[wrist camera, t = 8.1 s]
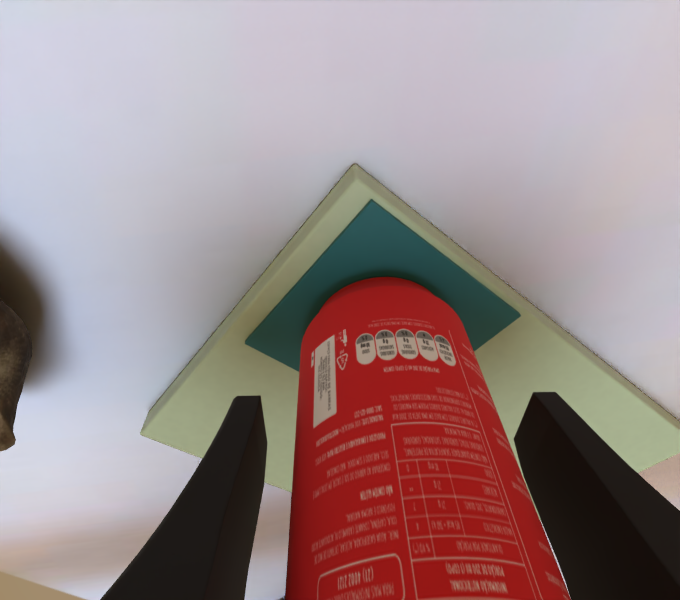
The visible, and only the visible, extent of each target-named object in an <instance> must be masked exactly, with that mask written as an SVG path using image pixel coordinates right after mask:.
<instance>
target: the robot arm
mask: <svg viewBox="0 0 680 600" xmlns="http://www.w3.org/2000/svg"><path fill="white" fill-rule="evenodd" d="M514 443H515V447H516V451H517V455H518V459H519V462H520V466H521V469H522V473H523V476H524V479H525V481H526V484H527V487H528V489H529V492H530V494H531V497H532V499H533V501H534V504H535V506H536V509H537V511H538V514H539V516H540V519H541V521H542V523H543V526H544V528H545V531H546V533H547V536H548V538H549V541H550V543H551V545H552V548H553V550H554V553H555V555H556V558H557V560H558V562H559V565H560V568H561V571H562V573H563V576H564V579H565V581H566V584H567V588H568V591H569V594H570V597H571V600H680V511H679V510H678V509H677V508H676V507H675V506H673V505H672V504H671V503H670V502H669V501H668V500H667V499H666V498H664V497H663V496H662V495H661V494H660V493H659V492H658V491H657V490H655V489H654V488H653V487H652V486H651V485H650V484H649V483H648V482H646V481H645V480H644V479H643V478H642V477H641V476H640V475H639V474H638V473H637V472H636V471H635V470H634V469H633V468H631V467H630V466H629V465H628V464H627V463H626V462H625V461H624V460H623V459H622V458H621V457H620V456H619V455H618V454H617V453H616V452H615V451H614V450H613V449H612V448H611V447H610V446H609V445H608V444H607V443H606V442H605V441H604V440H603V439H602V438H601V437H600V436H599V435H598V434H597V433H596V432H595V431H594V430H593V429H592V428H591V427H590V426H589V425H588V424H587V423H586V422H585V421H584V420H583V419H582V418H581V417H580V416H579V415H578V414H577V413H576V412H575V411H574V410H573V409H572V408H571V407H570V406H569V405H568V404H567V403H566V402H565V401H564V400H563V399H562V398H561V397H560V396H559V395H558V394H557V393H556V392H533V393H532V396H531V398H530V401H529V403H528V405H527V408H526V410H525V413H524V415H523V418H522V420H521V422H520V425H519V427H518V430H517V432H516V434H515V437H514ZM266 456H267V436H266V429H265V422H264V415H263V408H262V401H261V395H258V396H236V397H235V398H234V399H233V401H232V403H231V406H230V408H229V410H228V412H227V414H226V416H225V418H224V420H223V422H222V424H221V426H220V428H219V430H218V432H217V434H216V436H215V438H214V439H213V441H212V443H211V445H210V447H209V448H208V450H207V452H206V454H205V455H204V457H203V459H202V460H201V462H200V464H199V466H198V467H197V469H196V471H195V472H194V474H193V476H192V477H191V479H190V480H189V482H188V483H187V485H186V486H185V488H184V490H183V491H182V493H181V494H180V496H179V497H178V499H177V500H176V502H175V503H174V505H173V506H172V508H171V509H170V511H169V512H168V514H167V515H166V516H165V518H164V519H163V521H162V522H161V524H160V525H159V526H158V528H157V529H156V530H155V532H154V533H153V534H152V536H151V537H150V538H149V540H148V541H147V542H146V544H145V545H144V546H143V548H142V549H141V550H140V552H139V553H138V554H137V556H136V557H135V558H134V559H133V560H132V562H131V563H130V564H129V565H128V567H127V568H126V569H125V570H124V572H123V573H122V574H121V575H120V577H119V578H118V579H117V580H116V582H115V583H114V584H113V585H112V586H111V588H110V589H109V590H108V591H107V592H106V594H105V595H104V596H103V597H102V598H101V599H100V600H244V597H245V588H246V582H247V575H248V568H249V563H250V558H251V552H252V547H253V541H254V536H255V531H256V525H257V520H258V514H259V509H260V503H261V498H262V492H263V487H264V480H265V469H266Z"/></svg>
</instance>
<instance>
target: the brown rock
mask: <svg viewBox="0 0 680 600" xmlns="http://www.w3.org/2000/svg"><path fill="white" fill-rule="evenodd" d="M31 357H32V343H31V338H30V336H29V333H28V330H27V328H26V326H25V324H24V322H23V320H22V319H21V318H20V317H19V316H18V315H17V314H16V313H15V312H14V310H13V309H11V308H10V307H9V306H7V305H6V304H5V303H3V302H2V301H1V300H0V451H3V450H7V449H8V448H10V447H11V446H13V445H14V444H15V441H16V439H15V436H14V433H13V424H14V420H15V416H16V409H17V404H18V401H19V398H20V395H21V393H22V389H23V384H24V380H25V377H26V373H27V368H28V366H29V361H30V359H31Z"/></svg>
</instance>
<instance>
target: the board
mask: <svg viewBox="0 0 680 600" xmlns="http://www.w3.org/2000/svg"><path fill="white" fill-rule="evenodd" d="M373 276H397V277H403V278H406V279H410V280H413V281H415V282H417V283H419V284H421V285H423V286H425V287H426V288H427V289H429V290H430V291H431V292H432V293H433V294H434V295H435V296H436V297H438V298H440V299H441V300H443V301H444V302H445V303H447V304H448V305H449V306H450V307H451V308H452V309H453V310H454V311H455V312H456V313H457V315H458V316H459V318H460V320H461V321H462V323H463V326H464V328H465V331H466V333H467V336H468V338H469V341H470V343H471V346H472V348H473V351H474V354H475V356H476V359H477V361H478V364H479V366H480V369H481V371H482V374H483V377H484V379H485V382H486V384H487V387H488V389H489V392H490V394H491V397H492V400H493V402H494V405H495V407H496V410H497V412H498V415H499V417H500V420H501V422H502V425H503V428H504V430H505V433H506V435H507V438H508V440H509V443H510V445H511V448H512V451H513V453H514V456H515V458H516V461H517V463H518V466H519V468H520V471H521V474H522V476H523V473H522V469H521V466H520V462H519V459H518V455H517V451H516V447H515V443H514V437H515V434H516V432H517V430H518V427H519V425H520V422H521V420H522V418H523V415H524V413H525V410H526V408H527V405H528V403H529V401H530V398H531V396H532V393H533V392H556V393H557V394H558V395H559V396H560V397H561V398H562V399H563V400H564V401H565V402H566V403H567V404H568V405H569V406H570V407H571V408H572V409H573V410H574V411H575V412H576V413H577V414H578V415H579V416H580V417H581V418H582V419H583V420H584V421H585V422H586V423H587V424H588V425H589V426H590V427H591V428H592V429H593V430H594V431H595V432H596V433H597V434H598V435H599V436H600V437H601V438H602V439H603V440H604V441H605V442H606V443H607V444H608V445H609V446H610V447H611V448H612V449H613V450H614V451H615V452H616V453H617V454H618V455H619V456H620V457H621V458H622V459H623V460H624V461H625V462H626V463H627V464H628V465H629V466H630V467H631V468H633V469H634V470H635V471H636V472H637V473H639V472H641V471H643V470H645V469H647V468H649V467H651V466H653V465H655V464H658V463H660V462H662V461H664V460H666V459H668V458H670V457H672V456H674V455H676V454H678V453H680V422H679V421H678V420H677V419H675V418H674V417H673V416H671V415H670V414H669V413H668V412H666V411H665V410H664V409H663V408H661V407H660V406H659V405H658V404H656V403H655V402H654V401H653V400H651V399H650V398H649V397H648V396H646V395H645V394H644V393H643V392H641V391H640V390H639V389H638V388H636V387H635V386H634V385H633V384H631V383H630V382H629V381H628V380H626V379H625V378H624V377H623V376H621V375H620V374H619V373H617V372H616V371H615V370H614V369H612V368H611V367H610V366H609V365H607V364H606V363H605V362H604V361H602V360H601V359H600V358H599V357H597V356H596V355H595V354H594V353H592V352H591V351H590V350H589V349H587V348H586V347H585V346H584V345H582V344H581V343H580V342H579V341H577V340H576V339H575V338H574V337H572V336H571V335H570V334H569V333H567V332H566V331H565V330H563V329H562V328H561V327H560V326H558V325H557V324H556V323H555V322H553V321H552V320H551V319H550V318H548V317H547V316H546V315H545V314H543V313H542V312H541V311H540V310H538V309H537V308H536V307H535V306H533V305H532V304H531V303H530V302H528V301H527V300H526V299H525V298H523V297H522V296H521V295H520V294H518V293H517V292H516V291H514V290H513V289H512V288H511V287H509V286H508V285H507V284H506V283H504V282H503V281H502V280H501V279H499V278H498V277H497V276H496V275H494V274H493V273H492V272H491V271H489V270H488V269H487V268H486V267H484V266H483V265H482V264H481V263H479V262H478V261H477V260H476V259H474V258H473V257H472V256H471V255H469V254H468V253H467V252H466V251H464V250H463V249H462V248H460V247H459V246H458V245H457V244H455V243H454V242H453V241H452V240H450V239H449V238H448V237H447V236H445V235H444V234H443V233H442V232H440V231H439V230H438V229H437V228H435V227H434V226H433V225H432V224H430V223H429V222H428V221H427V220H425V219H424V218H423V217H422V216H420V215H419V214H418V213H417V212H415V211H414V210H413V209H412V208H410V207H409V206H408V205H406V204H405V203H404V202H403V201H401V200H400V199H399V198H398V197H396V196H395V195H394V194H393V193H391V192H390V191H389V190H388V189H386V188H385V187H384V186H383V185H381V184H380V183H379V182H378V181H376V180H375V179H374V178H373V177H371V176H370V175H369V174H368V173H366V172H365V171H364V170H363V169H361V168H360V167H359V166H357V165H355V164H354V165H352V166H351V168H350V169H349V170H348V171H347V172H346V174H345V175H344V176H343V177H342V179H341V180H340V181H339V182H338V183H337V185H336V186H335V187H334V188H333V189H332V191H331V192H330V193H329V194H328V196H327V197H326V198H325V199H324V200H323V202H322V203H321V204H320V205H319V206H318V208H317V209H316V210H315V211H314V212H313V214H312V215H311V216H310V217H309V219H308V220H307V221H306V222H305V223H304V225H303V226H302V227H301V228H300V229H299V231H298V232H297V233H296V234H295V235H294V237H293V238H292V239H291V240H290V242H289V243H288V244H287V245H286V246H285V248H284V249H283V250H282V251H281V252H280V254H279V255H278V256H277V257H276V258H275V260H274V261H273V262H272V263H271V265H270V266H269V267H268V268H267V269H266V271H265V272H264V273H263V274H262V275H261V277H260V278H259V279H258V280H257V282H256V283H255V284H254V285H253V286H252V288H251V289H250V290H249V291H248V292H247V294H246V295H245V296H244V297H243V298H242V300H241V301H240V302H239V303H238V305H237V306H236V307H235V308H234V309H233V311H232V312H231V313H230V314H229V315H228V317H227V318H226V319H225V320H224V321H223V323H222V324H221V325H220V326H219V328H218V329H217V330H216V331H215V332H214V334H213V335H212V336H211V337H210V338H209V340H208V341H207V342H206V343H205V344H204V346H203V347H202V348H201V349H200V351H199V352H198V353H197V354H196V355H195V357H194V358H193V359H192V360H191V361H190V363H189V364H188V365H187V366H186V368H185V369H184V370H183V371H182V372H181V374H180V375H179V376H178V377H177V378H176V380H175V381H174V382H173V383H172V384H171V386H170V387H169V388H168V389H167V391H166V392H165V393H164V394H163V395H162V397H161V398H160V399H159V400H158V401H157V403H156V404H155V405H154V406H153V407H152V409H151V410H150V411H149V412H148V415H147V417H146V420H145V422H144V424H143V427H142V429H141V432H140V435H142V436H144V437H147V438H150V439H152V440H155V441H158V442H160V443H163V444H165V445H168V446H171V447H173V448H176V449H179V450H181V451H184V452H186V453H189V454H192V455H194V456H197V457H200V458H202V459H203V457H204V455H205V454H206V452H207V450H208V448H209V447H210V445H211V443H212V441H213V439H214V438H215V436H216V434H217V432H218V430H219V428H220V426H221V424H222V422H223V420H224V418H225V416H226V414H227V412H228V410H229V408H230V406H231V403H232V401H233V399H234V398H235V397H236V396H258V395H261V401H262V408H263V415H264V422H265V429H266V436H267V456H266V469H265V480H264V482H265V483H268V484H271V485H273V486H276V487H278V488H281V489H284V490H286V491H289V492H292V481H293V465H294V449H295V433H296V417H297V402H298V386H299V370H300V354H301V344H302V340H303V336H304V334H305V332H306V330H307V328H308V326H309V324H310V323H311V321H312V320H313V319H314V318H315V316H316V315H317V314H318V312H319V310H320V308H321V306H322V305H323V304H324V302H325V301H326V300H327V299H328V298H329V297H330V296H331V295H332V294H333V293H334V292H336V291H337V290H338V289H340V288H342V287H343V286H345V285H347V284H349V283H351V282H354V281H356V280H359V279H363V278H367V277H373ZM523 479H524V476H523ZM524 481H525V479H524ZM525 484H526V481H525ZM526 486H527V484H526ZM527 489H528V487H527ZM528 491H529V489H528ZM529 494H530V492H529ZM530 496H531V494H530ZM531 499H532V497H531ZM532 502H533V504H534V501H533V499H532ZM534 507H535V509H536V506H535V504H534ZM536 512H537V514H538V511H537V509H536ZM538 517H539V519H540V516H539V514H538ZM540 520H541V519H540Z"/></svg>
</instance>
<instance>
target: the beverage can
mask: <svg viewBox="0 0 680 600" xmlns="http://www.w3.org/2000/svg"><path fill="white" fill-rule="evenodd" d="M285 600H571V599H570V596H569V593H568V591H567V588H566V586H565V583H564V581H563V578H562V576H561V573H560V570H559V568H558V565H557V563H556V560H555V558H554V555H553V553H552V550H551V548H550V545H549V542H548V540H547V537H546V535H545V532H544V530H543V527H542V525H541V522H540V519H539V517H538V514H537V512H536V509H535V507H534V504H533V502H532V499H531V496H530V494H529V491H528V489H527V486H526V484H525V481H524V479H523V476H522V474H521V471H520V468H519V466H518V463H517V461H516V458H515V456H514V453H513V451H512V448H511V445H510V443H509V440H508V438H507V435H506V433H505V430H504V428H503V425H502V422H501V420H500V417H499V415H498V412H497V410H496V407H495V405H494V402H493V400H492V397H491V394H490V392H489V389H488V387H487V384H486V382H485V379H484V377H483V374H482V371H481V369H480V366H479V364H478V361H477V359H476V356H475V354H474V351H473V348H472V346H471V343H470V341H469V338H468V336H467V333H466V331H465V328H464V326H463V323H462V321H461V320H460V318H459V316H458V315H457V313H456V312H455V311H454V310H453V309H452V308H451V307H450V306H449V305H448V304H447V303H445V302H444V301H443V300H441V299H440V298H438V297H436V296H435V295H434V294H433V293H432V292H431V291H430V290H429V289H427V288H426V287H425V286H423V285H421V284H419V283H417V282H415V281H413V280H410V279H406V278H403V277H397V276H373V277H367V278H363V279H359V280H356V281H354V282H351V283H349V284H347V285H345V286H343V287H342V288H340V289H338V290H337V291H336V292H334V293H333V294H332V295H331V296H330V297H329V298H328V299H327V300H326V301H325V302H324V304H323V305H322V306H321V308H320V310H319V312H318V314H317V315H316V316H315V318H314V319H313V320H312V321H311V323H310V324H309V326H308V328H307V330H306V332H305V334H304V336H303V340H302V344H301V354H300V370H299V386H298V402H297V417H296V433H295V449H294V465H293V481H292V497H291V513H290V529H289V545H288V561H287V577H286V593H285Z"/></svg>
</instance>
